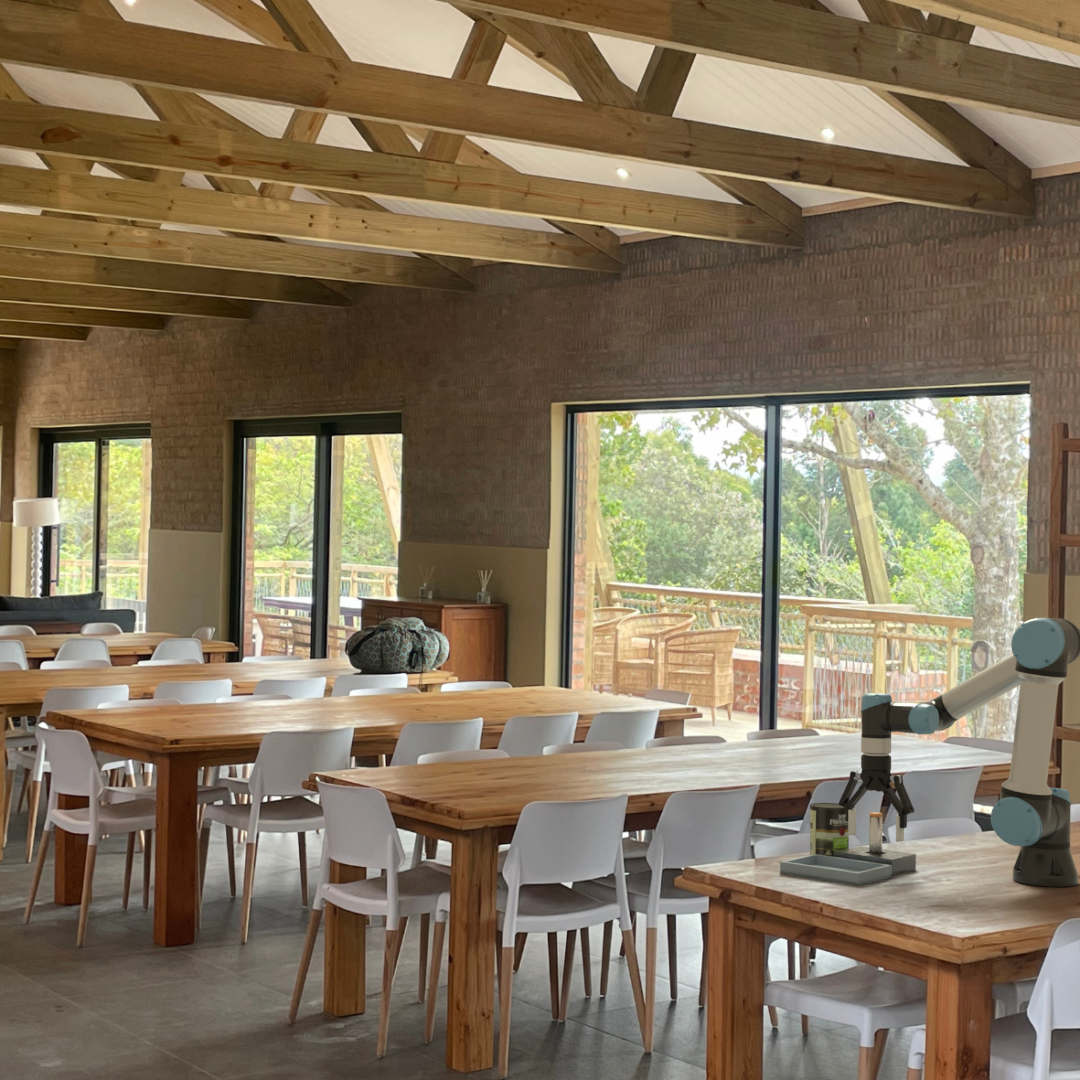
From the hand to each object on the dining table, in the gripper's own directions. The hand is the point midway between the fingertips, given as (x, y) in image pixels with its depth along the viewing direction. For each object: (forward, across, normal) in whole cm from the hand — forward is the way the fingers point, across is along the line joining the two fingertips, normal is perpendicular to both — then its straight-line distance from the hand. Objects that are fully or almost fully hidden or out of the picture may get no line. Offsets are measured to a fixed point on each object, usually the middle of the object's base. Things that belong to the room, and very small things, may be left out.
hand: (875, 838), depth 379 cm
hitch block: (+8, 0, 0) cm, 8 cm away
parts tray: (+8, +2, +16) cm, 18 cm away
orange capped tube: (+8, 0, 0) cm, 8 cm away
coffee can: (+8, +16, -4) cm, 18 cm away
